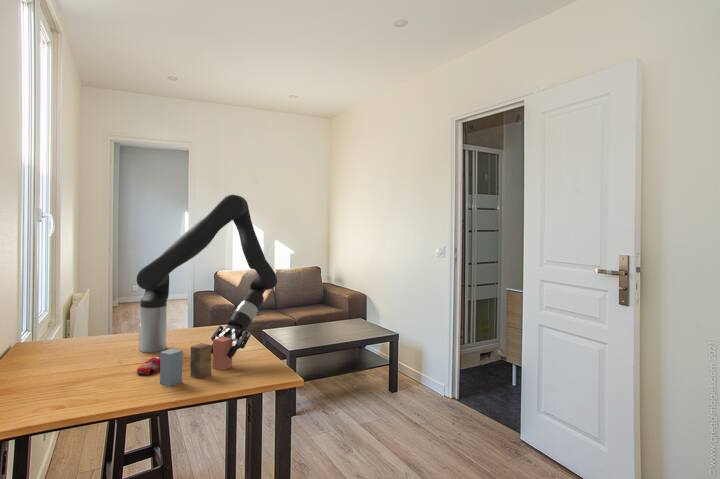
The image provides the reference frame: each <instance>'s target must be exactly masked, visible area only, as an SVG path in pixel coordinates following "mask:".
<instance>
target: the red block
mask: <svg viewBox="0 0 720 479" xmlns="http://www.w3.org/2000/svg"><path fill="white" fill-rule="evenodd" d="M212 344H213V354H212V369H215V370H220V371H225V370H227V369H229V368H231V367H233V357H232V358H229V357H228V356H227V353H228V352H229V350H230V348H231V347H232V346H233V342H232V338H227V337H224V336H222V337H220V338H217V339H214V340H213V341H212Z"/></svg>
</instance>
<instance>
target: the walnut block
mask: <svg viewBox="0 0 720 479" xmlns="http://www.w3.org/2000/svg"><path fill="white" fill-rule="evenodd" d="M211 345H212V344H208V343H202V342H201V343H197V344H193V345H191V346H190V372H189V373H190V377H191V378H195V379H198V380H202V379H205V378H207V377H210V376H212V354H211Z"/></svg>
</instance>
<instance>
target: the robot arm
mask: <svg viewBox="0 0 720 479" xmlns="http://www.w3.org/2000/svg"><path fill="white" fill-rule="evenodd" d="M249 209H250V208H249V204H248V202H247V200H246V199H245V198H244V197H243V196H241V195H237V194H229V195H226V196H224V197H223V198H222V199H221V200H220V201H219V202H218V203H217V204H216V205H215V207H213V209H212V210H211V211H210V212H209V213H208V214H207V215H206V216H204V217H203V218H202V219H200V220H198V221H197V222H196V223H195V224H194V225H193V226H191V227H190V228H188V229H187V231H185V232H184V233H183V234H182V235H180V237H179V238H178V239H176V240H175V241H174V242H173V243H172V244H171V245H170V246H169V247H168V248H167V249H166V250H165V251H163V253H162V254H161V255H159V256H158V257H156V258H155V259H154V260H152V261H151V262H149V263H148V264H147V265H145V266H144V267H143V268H141V269H140V270H139V271H138V273H137V275H136V283H137V286H138V287H139V288H140V289H142V290H144V294H143V296H142V298H141V299H140V304H139V305H140V318H139V319H140V322H139V323H140V324H139V326H138V350H140V352H142V353H157V352H162V351H166V349H167V329H168V328H167V324H168V323H167V320H168V318H167V317H168V316H167V314H168V313H167V311H168V310H167V306H168V304H167V302H168V298H169V295H170V294H169V293H170V273H172V272H173V271H174V270H175V269H177V268H178V267H180V266H182V265H184V264H185V263H187V262H188V261H190V260H191V259H193V258H195V257H196V256H197V255H199V254H200V253H201V252H202V251H203V250H205V249H206V248H207V247H208V246H209V245H210V244H211V242H212V241H213V240H214V238H215V237H216V236H217V234H218V233H219V231H221V229H223V228H224V227H225V226H226V225H228V224H229V223H231V222H232V221H233V223H234V225H235V227H236V229H237V232H238V235H239V239H240V245H241V249H242V252H243V255H244V258H245V260H246V263H247V265H248V267H249V268H250V269H251V270H254V271H255V272H256V273H257V274H256V275H255V276H254V277H253V278H252V280H251V282H250V284H249V286H248V289H247V291H246V292H247V293H246V294H245V296H244V297H243V298H242V300H241V302H239V304H238V305H237V307H236V309H235V310H234V311H233V313H232V314H231V316H230V317H229V319H228V320H227V322H228V323H227V325H226V326H225V327H224V326H222V325H219V326H218V327H217V329H216V330H215V332H213V334H212V336H211V337H210V340H211V341H212V342H213V340H214V339H217V338H220V337H227V338H232V347H231V348H230V350H229V352H228V353H227V356H228V357H229V358H232V359H233V357H234V356H235V354H236V353H237V352H238V350H240V349H245V347H246V345H247V344H248V341H249V339H250V337H251V335H252V334H251V333H250V331H249V330H248V329H249V327H250V326H251V324H252V322H253V321H254V319H255V318H256V316H257V313H258V312H259V309H260V308H261V306H262V304H263V302H264V299H265V298H264V293H265V292H266V291H269V290H272V289H274V288H275V287H276V286H277V283H278V278H277V277H278V276H277V275H276V272H275V271H274V269H273V268H272V266H271V265H270V263H269V262H268V260H267V259H266V257H265V254H264V252H263V250H262V246H261V243H260V242H259V239H258V236H257V235H256V232H255V231H256V230H255V228H254V225H253V222H252V218H251V214H250V210H249ZM210 345H211V355H213V343H212V344H210Z"/></svg>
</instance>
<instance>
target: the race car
mask: <svg viewBox="0 0 720 479" xmlns="http://www.w3.org/2000/svg"><path fill="white" fill-rule="evenodd" d="M158 371H159V372H160V355H156V356H153V357H151V358H149V359H148V360H147V361H144V363H143V364H142V365H140V366H139V367H137V369H136V374H137V375H143V376H146V375H153V374H154V373H157V372H158Z"/></svg>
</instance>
